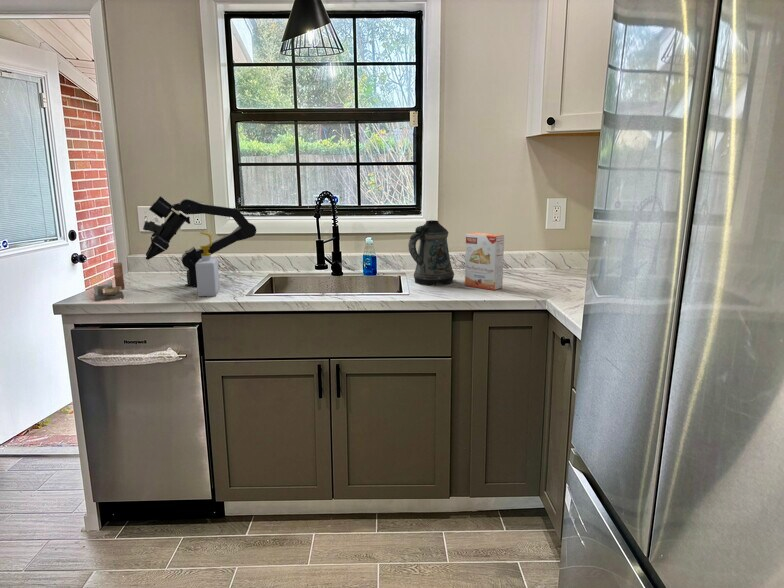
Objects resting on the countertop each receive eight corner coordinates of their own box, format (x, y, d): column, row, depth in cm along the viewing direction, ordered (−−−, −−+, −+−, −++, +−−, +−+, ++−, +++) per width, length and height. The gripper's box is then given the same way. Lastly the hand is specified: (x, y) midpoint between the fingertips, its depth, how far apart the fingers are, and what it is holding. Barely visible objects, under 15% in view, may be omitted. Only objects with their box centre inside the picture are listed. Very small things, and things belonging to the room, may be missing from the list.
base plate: (122, 293, 218) (122, 291, 218) (123, 298, 210) (123, 295, 210) (94, 296, 214) (94, 293, 214) (94, 301, 206) (94, 298, 206)
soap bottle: (202, 290, 223) (197, 230, 217) (220, 289, 224) (215, 229, 219) (197, 297, 211) (192, 234, 206) (216, 296, 212) (211, 233, 207)
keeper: (112, 292, 216) (111, 277, 215) (113, 295, 211) (111, 280, 209) (94, 293, 214) (93, 279, 212) (95, 297, 208) (93, 282, 207)
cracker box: (464, 286, 226) (465, 233, 222) (473, 283, 231) (474, 231, 226) (494, 290, 217) (496, 235, 212) (502, 288, 221) (504, 234, 217)
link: (114, 295, 209) (111, 268, 207) (104, 295, 209) (100, 268, 207) (126, 288, 221) (123, 262, 219) (117, 288, 221) (114, 262, 219)
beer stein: (459, 279, 238) (460, 219, 233) (441, 288, 222) (442, 224, 216) (423, 276, 246) (423, 218, 240) (403, 285, 229) (403, 222, 223)
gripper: (153, 211, 229) (128, 242, 228) (153, 214, 212) (127, 248, 211) (177, 228, 234) (153, 258, 233) (179, 233, 217) (154, 265, 216)
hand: (146, 257), depth 223 cm, fingers open, 9 cm apart
